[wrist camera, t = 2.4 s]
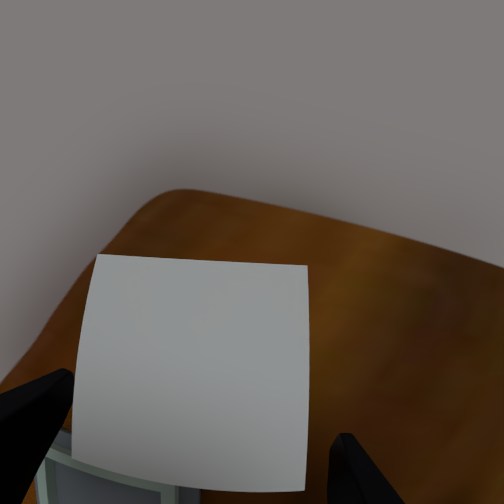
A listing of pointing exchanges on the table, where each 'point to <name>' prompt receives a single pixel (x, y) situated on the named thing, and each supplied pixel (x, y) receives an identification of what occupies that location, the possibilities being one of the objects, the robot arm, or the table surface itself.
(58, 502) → the base plate
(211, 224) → the table surface
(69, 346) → the table surface
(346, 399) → the table surface
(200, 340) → the white post
